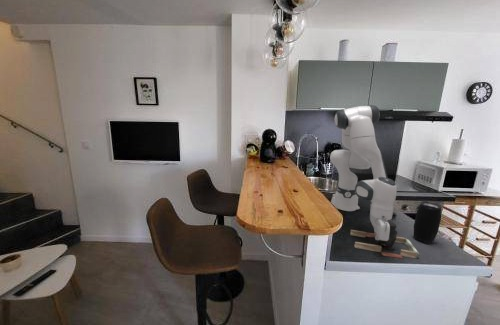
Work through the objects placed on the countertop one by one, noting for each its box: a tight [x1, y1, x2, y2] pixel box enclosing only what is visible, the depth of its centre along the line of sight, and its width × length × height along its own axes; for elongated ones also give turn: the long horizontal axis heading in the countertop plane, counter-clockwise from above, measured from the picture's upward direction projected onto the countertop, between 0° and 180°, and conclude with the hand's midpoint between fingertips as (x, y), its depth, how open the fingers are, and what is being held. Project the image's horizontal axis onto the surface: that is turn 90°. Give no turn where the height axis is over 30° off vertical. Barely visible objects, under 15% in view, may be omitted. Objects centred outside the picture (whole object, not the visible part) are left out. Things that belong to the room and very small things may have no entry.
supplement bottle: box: [376, 220, 398, 251], centre depth 99 cm, size 7×7×12 cm
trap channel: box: [350, 229, 420, 260], centre depth 102 cm, size 18×26×2 cm
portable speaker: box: [413, 200, 442, 245], centre depth 105 cm, size 9×9×20 cm
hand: (376, 238), depth 101 cm, fingers closed, pressing on supplement bottle
